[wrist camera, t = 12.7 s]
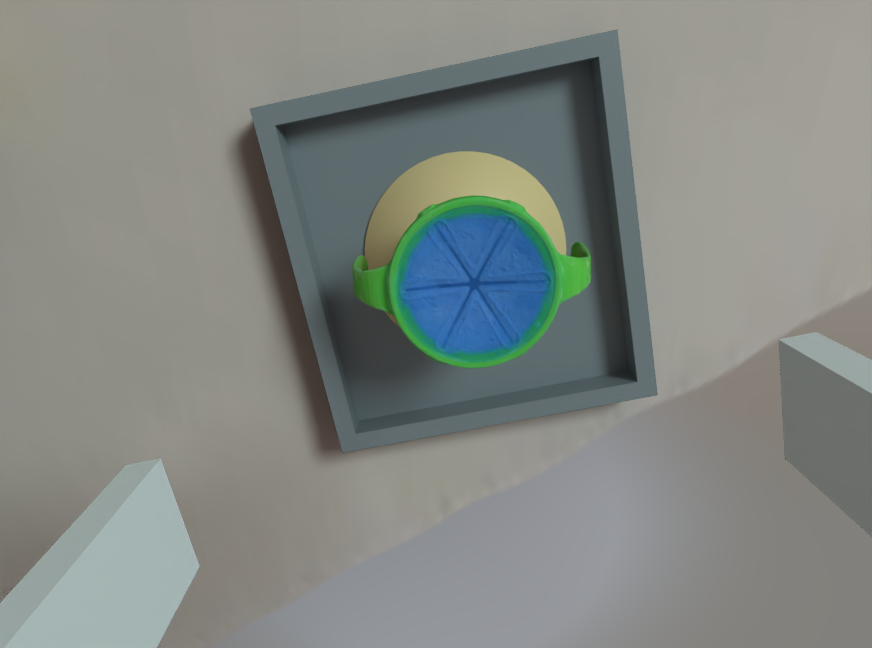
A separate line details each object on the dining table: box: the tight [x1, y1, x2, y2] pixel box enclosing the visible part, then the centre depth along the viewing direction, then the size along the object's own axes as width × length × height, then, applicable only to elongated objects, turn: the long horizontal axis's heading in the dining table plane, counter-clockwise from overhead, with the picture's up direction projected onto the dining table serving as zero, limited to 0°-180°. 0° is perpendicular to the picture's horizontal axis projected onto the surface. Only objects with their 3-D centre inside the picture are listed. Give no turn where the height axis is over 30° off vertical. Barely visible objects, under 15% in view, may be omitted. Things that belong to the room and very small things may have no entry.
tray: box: [250, 30, 657, 453], centre depth 34 cm, size 18×19×3 cm
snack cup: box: [352, 195, 591, 369], centre depth 31 cm, size 11×8×7 cm
